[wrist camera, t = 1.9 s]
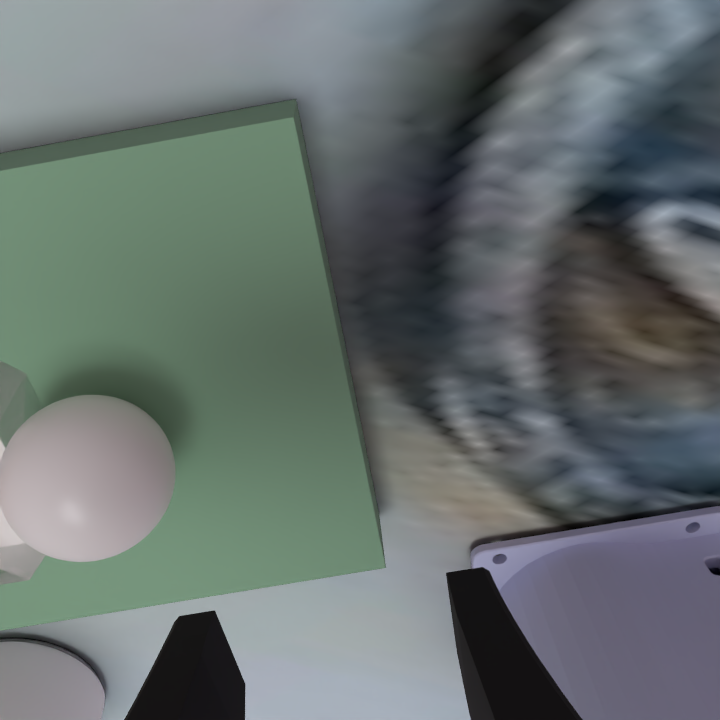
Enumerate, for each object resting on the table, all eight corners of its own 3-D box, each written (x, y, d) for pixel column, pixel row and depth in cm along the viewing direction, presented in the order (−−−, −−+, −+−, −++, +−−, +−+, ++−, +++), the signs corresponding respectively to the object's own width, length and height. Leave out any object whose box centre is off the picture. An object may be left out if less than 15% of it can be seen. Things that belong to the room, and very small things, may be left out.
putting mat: (296, 98, 16) (293, 117, 14) (379, 515, 23) (385, 567, 21) (-403, 227, 17) (-505, 263, 15) (-114, 596, 24) (-155, 656, 22)
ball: (161, 352, 17) (121, 450, 13) (204, 472, 19) (181, 583, 15) (8, 379, 17) (-70, 482, 13) (68, 495, 19) (14, 611, 15)
